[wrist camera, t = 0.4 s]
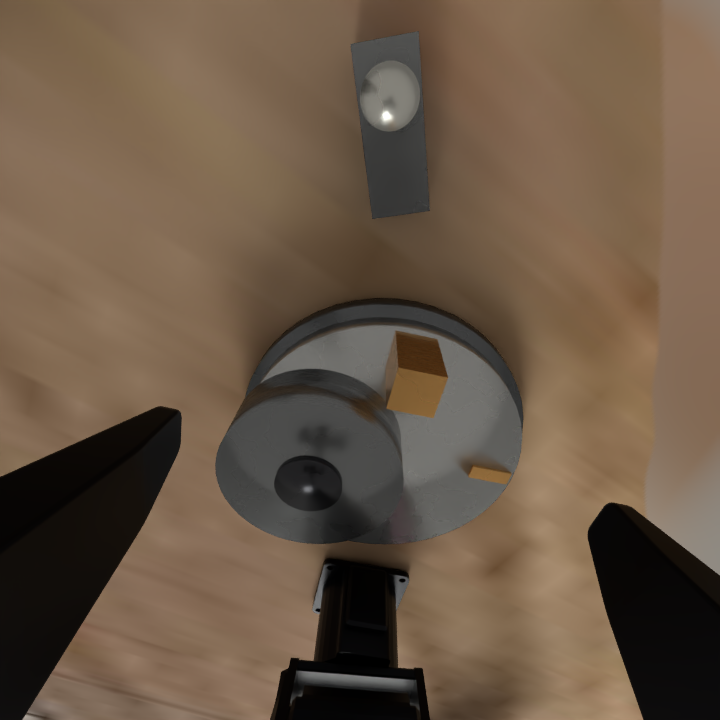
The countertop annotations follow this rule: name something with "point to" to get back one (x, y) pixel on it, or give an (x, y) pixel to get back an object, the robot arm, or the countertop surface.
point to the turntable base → (391, 310)
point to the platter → (425, 417)
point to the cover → (312, 458)
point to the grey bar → (392, 123)
